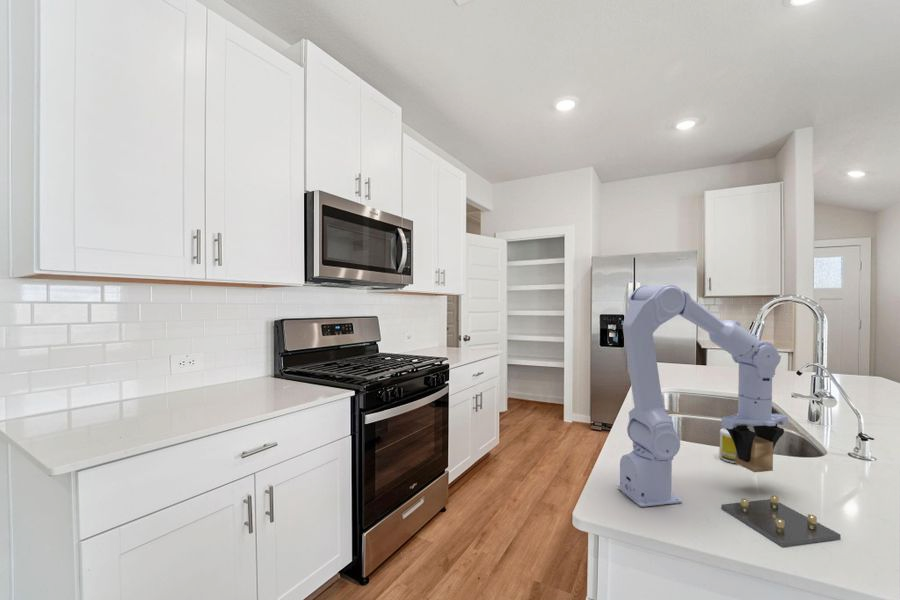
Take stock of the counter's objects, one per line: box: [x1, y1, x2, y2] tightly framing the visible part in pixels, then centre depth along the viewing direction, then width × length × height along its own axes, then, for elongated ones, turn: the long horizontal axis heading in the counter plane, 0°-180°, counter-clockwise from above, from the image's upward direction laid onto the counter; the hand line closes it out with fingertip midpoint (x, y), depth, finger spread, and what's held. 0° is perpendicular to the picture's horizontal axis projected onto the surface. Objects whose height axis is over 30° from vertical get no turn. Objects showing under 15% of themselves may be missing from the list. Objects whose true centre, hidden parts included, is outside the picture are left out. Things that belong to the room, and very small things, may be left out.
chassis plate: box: [720, 494, 842, 548], centre depth 73 cm, size 12×12×3 cm
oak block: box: [735, 436, 774, 473], centre depth 85 cm, size 4×4×6 cm
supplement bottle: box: [718, 427, 737, 465], centre depth 100 cm, size 5×5×10 cm
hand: (753, 459), depth 85 cm, fingers closed on oak block, 4 cm apart
